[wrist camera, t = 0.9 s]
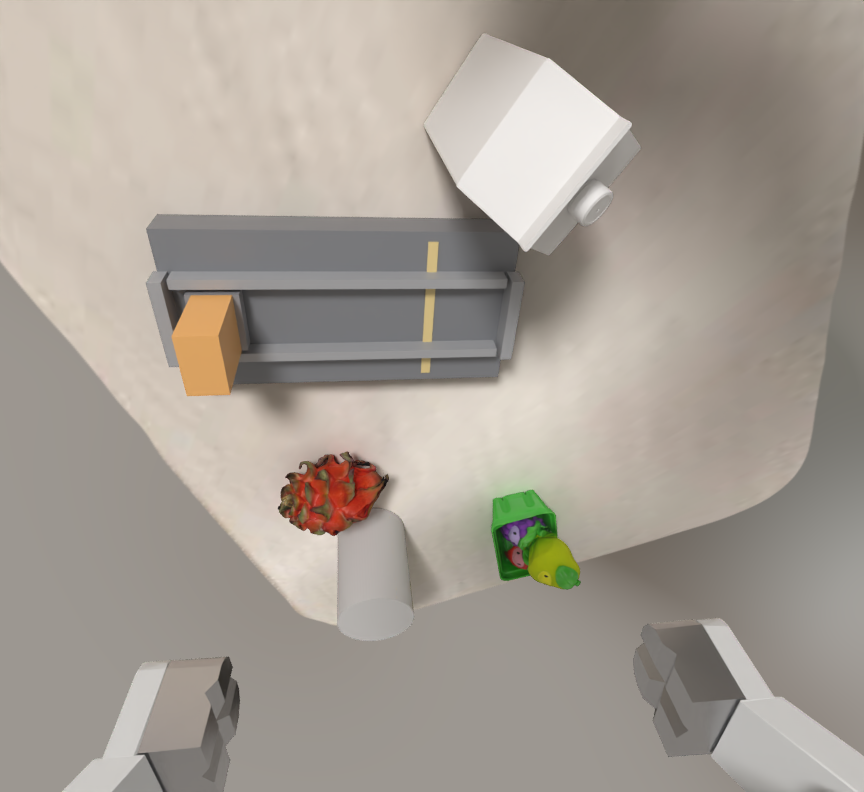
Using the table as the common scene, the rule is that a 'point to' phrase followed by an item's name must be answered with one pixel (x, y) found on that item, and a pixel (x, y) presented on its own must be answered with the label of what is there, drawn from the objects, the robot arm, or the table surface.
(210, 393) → the fader
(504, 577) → the fruit basket
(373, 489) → the dragon fruit
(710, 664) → the robot arm
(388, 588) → the cup
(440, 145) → the milk carton
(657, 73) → the table surface
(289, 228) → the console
